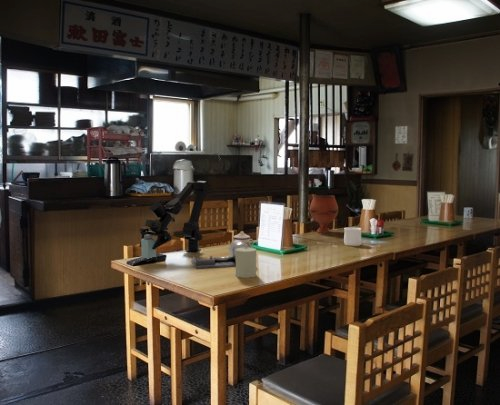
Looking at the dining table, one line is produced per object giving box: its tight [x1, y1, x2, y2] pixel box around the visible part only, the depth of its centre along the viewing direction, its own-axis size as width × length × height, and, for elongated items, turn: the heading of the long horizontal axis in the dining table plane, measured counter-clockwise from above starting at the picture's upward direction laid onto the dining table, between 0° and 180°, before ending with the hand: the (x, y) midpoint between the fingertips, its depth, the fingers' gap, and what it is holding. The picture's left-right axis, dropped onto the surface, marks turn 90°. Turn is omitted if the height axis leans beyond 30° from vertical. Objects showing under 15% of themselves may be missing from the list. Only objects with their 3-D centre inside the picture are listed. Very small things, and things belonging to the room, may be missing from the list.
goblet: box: [309, 194, 339, 234], centre depth 330 cm, size 19×19×25 cm
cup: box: [343, 226, 362, 247], centre depth 284 cm, size 10×10×10 cm
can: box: [234, 247, 257, 279], centre depth 212 cm, size 9×9×12 cm
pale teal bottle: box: [140, 234, 157, 259], centre depth 240 cm, size 5×5×13 cm
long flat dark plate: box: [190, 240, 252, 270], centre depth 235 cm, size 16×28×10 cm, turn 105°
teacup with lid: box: [233, 231, 254, 248], centre depth 260 cm, size 12×9×12 cm
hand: (146, 248), depth 239 cm, fingers open, 9 cm apart
